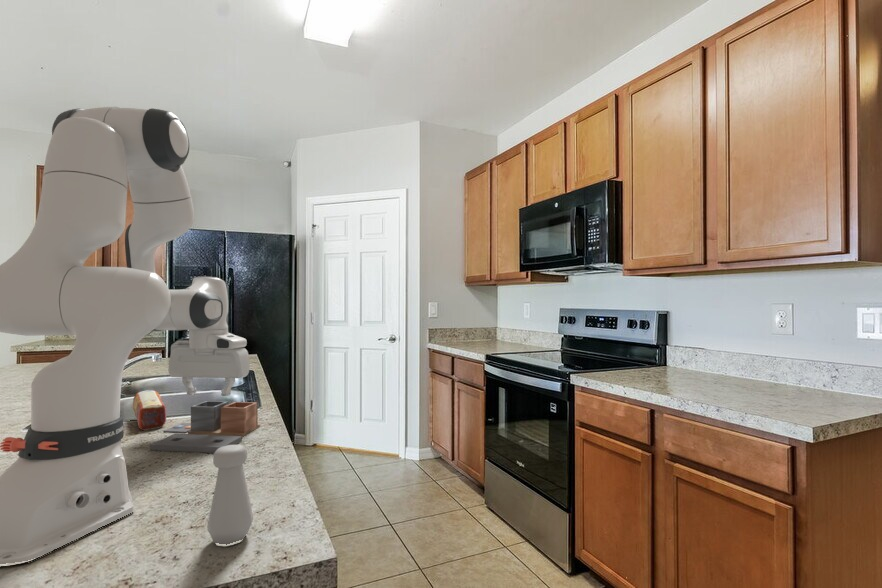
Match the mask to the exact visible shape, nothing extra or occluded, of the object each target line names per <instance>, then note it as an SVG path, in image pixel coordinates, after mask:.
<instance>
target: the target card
mask: <svg viewBox="0 0 882 588" xmlns="http://www.w3.org/2000/svg"><path fill="white" fill-rule="evenodd" d="M189 431H191V422H182V423H179V424H177V425H174V426H171V427H169V428H167V429H164V430H163V432H164V433H175V434H188V432H189Z"/></svg>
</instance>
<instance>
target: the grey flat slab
mask: <svg viewBox="0 0 882 588" xmlns="http://www.w3.org/2000/svg"><path fill="white" fill-rule="evenodd" d="M242 441H243V436H224V435H198V434H188V433H174V434H171V435H169V436H166V437H164V438H162V439H160V440H157V441H155V442H153V443H150V444H149V451H165V452H187V453H188V452H189V453H213V454H214V453H215V451H216V450H217V449H219V448H221V447H223V446H227V445H239V443H242Z"/></svg>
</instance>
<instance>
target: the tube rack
mask: <svg viewBox="0 0 882 588" xmlns="http://www.w3.org/2000/svg"><path fill="white" fill-rule="evenodd" d="M258 409H259V408H258V401H256V402H254V401H253V402H252V401H250V402H249V401H234V402H232V403H229V401H220V400H218V401H216V400H206V401H203V402H200V403H197V404H194V405H191V406H190V423H191V431H189V432H187V434H198V435H224V436H242V437H244V436H247V435H248V434H250V433H252V432H253V431H255V430H257V429H259V428H260V426H261V425H260V424H258V422H259V419H258V417H259V416H258V415H259V414H258V413H259V411H258ZM258 427H259V428H258ZM251 431H252V432H251Z"/></svg>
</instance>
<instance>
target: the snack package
mask: <svg viewBox="0 0 882 588" xmlns="http://www.w3.org/2000/svg"><path fill="white" fill-rule="evenodd" d="M132 401H133V402H132V409H133V412H134V415H135V419H136V420H137V425H138V428H139V429H140V430H141V431H148V430H147V429H149V430H154V428H155V429H158V428H161V427H163V426H164V425H165V424H166V422H167V408H166V405H165V404H164V402H163V400H162V397H161V396H160V393H159V392H158V391H156V390H151V389H150V390H149V389H147V390H143V391H139V392H137V393H136V394H135V395H134V397H133V400H132Z"/></svg>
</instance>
